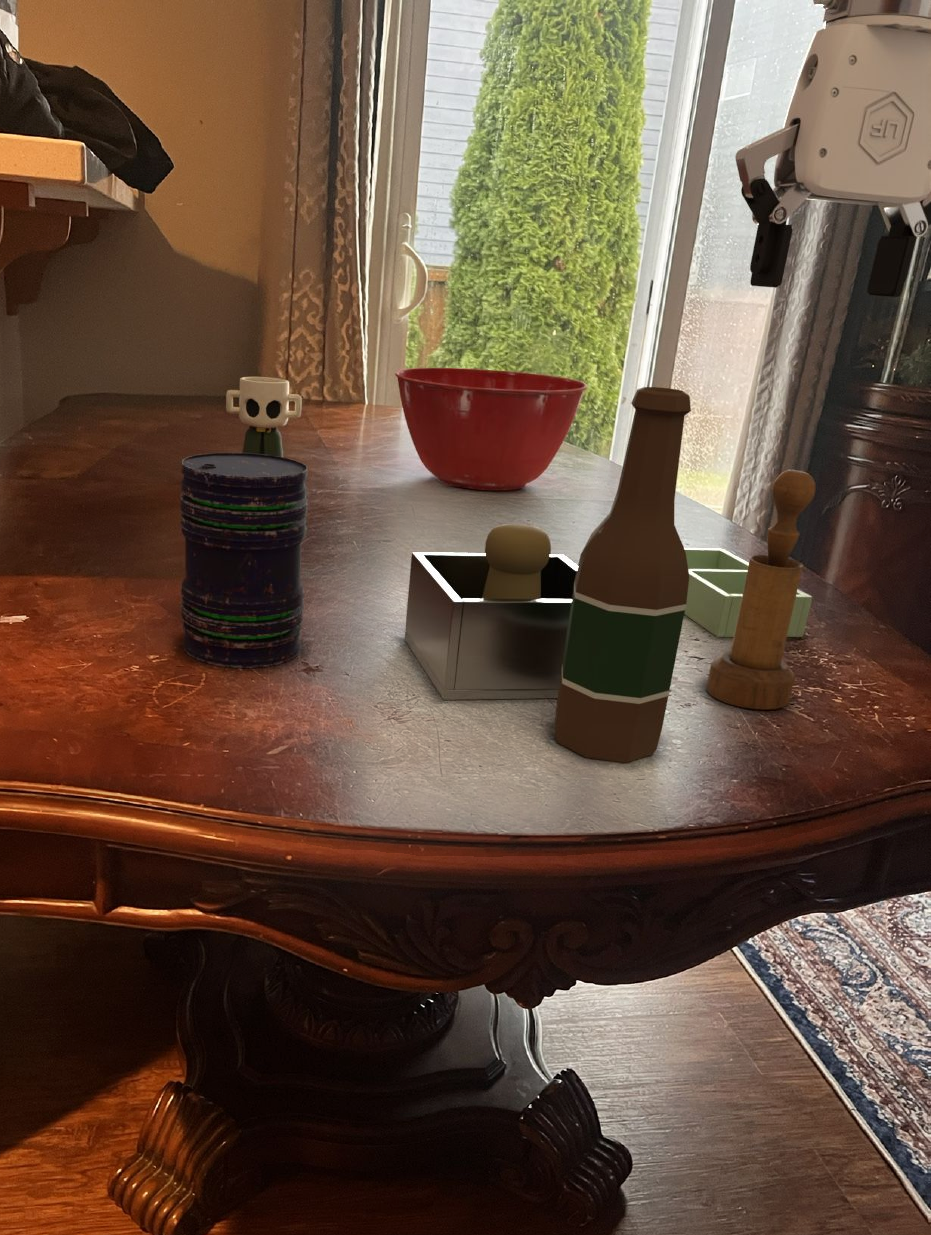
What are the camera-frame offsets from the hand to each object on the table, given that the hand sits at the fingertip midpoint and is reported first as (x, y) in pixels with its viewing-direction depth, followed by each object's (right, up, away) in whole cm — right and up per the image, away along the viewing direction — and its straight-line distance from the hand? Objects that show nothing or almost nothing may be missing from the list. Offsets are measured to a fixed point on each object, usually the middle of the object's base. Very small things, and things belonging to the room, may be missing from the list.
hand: (824, 291), depth 76 cm
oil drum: (-44, -25, +11) cm, 52 cm away
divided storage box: (+2, -20, +31) cm, 37 cm away
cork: (-22, -26, +10) cm, 36 cm away
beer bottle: (-16, -33, -1) cm, 37 cm away
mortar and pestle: (-3, -29, +9) cm, 31 cm away
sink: (-22, -27, +11) cm, 36 cm away
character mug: (-50, +6, +80) cm, 95 cm away
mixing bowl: (-18, +6, +85) cm, 87 cm away
